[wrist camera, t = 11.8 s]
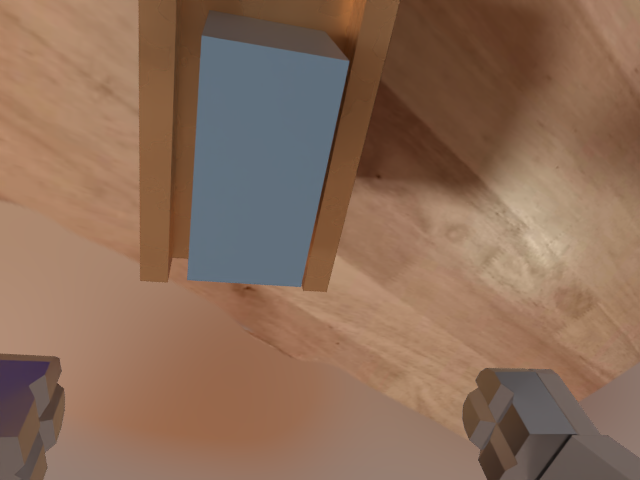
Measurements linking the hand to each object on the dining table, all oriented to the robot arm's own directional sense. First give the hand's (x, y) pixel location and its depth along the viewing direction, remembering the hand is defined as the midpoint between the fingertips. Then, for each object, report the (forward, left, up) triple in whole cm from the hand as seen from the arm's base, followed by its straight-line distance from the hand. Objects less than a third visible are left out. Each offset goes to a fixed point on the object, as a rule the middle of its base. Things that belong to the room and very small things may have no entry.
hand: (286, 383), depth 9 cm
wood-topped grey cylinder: (0, 0, -26) cm, 26 cm away
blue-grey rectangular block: (0, 0, -14) cm, 14 cm away
